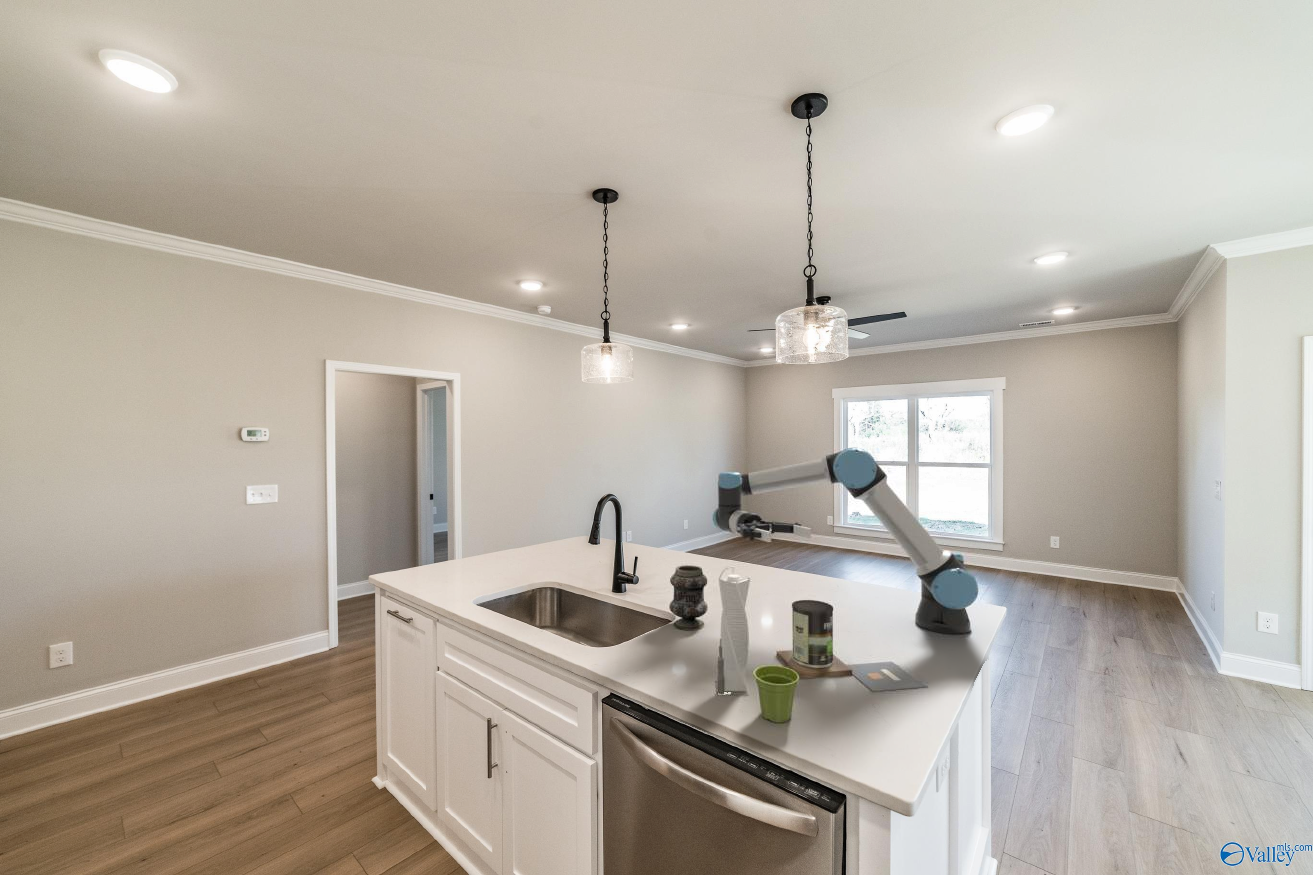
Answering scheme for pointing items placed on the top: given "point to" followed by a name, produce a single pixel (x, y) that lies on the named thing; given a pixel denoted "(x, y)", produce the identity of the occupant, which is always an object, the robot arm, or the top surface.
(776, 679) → the plant pot
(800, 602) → the coffee can
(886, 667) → the gray tile
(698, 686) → the top surface
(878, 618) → the top surface
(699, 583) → the apothecary jar
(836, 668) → the walnut board
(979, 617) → the top surface
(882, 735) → the top surface
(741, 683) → the skyscraper
